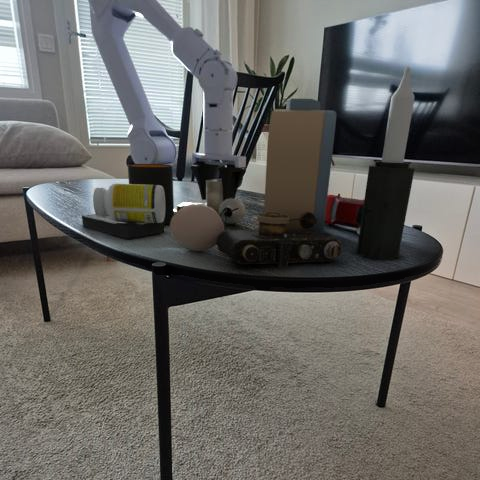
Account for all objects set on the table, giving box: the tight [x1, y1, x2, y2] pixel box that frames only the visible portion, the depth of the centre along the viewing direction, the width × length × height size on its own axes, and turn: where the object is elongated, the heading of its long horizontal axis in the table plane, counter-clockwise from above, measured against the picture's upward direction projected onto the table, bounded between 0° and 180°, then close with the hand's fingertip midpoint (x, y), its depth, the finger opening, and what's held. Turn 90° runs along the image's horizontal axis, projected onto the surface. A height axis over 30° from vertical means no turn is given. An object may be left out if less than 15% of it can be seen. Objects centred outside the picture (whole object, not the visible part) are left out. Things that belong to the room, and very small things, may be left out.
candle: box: [356, 66, 416, 261], centre depth 60 cm, size 5×5×25 cm
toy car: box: [324, 193, 364, 229], centre depth 81 cm, size 6×14×5 cm
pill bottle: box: [92, 183, 165, 223], centre depth 70 cm, size 6×6×11 cm
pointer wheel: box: [205, 178, 224, 207], centre depth 87 cm, size 5×5×5 cm
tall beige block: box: [263, 98, 337, 234], centre depth 72 cm, size 21×10×22 cm, turn 168°
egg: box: [169, 204, 225, 252], centre depth 63 cm, size 7×7×10 cm
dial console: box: [176, 201, 224, 222], centre depth 89 cm, size 12×9×3 cm
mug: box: [127, 163, 175, 225], centre depth 83 cm, size 8×12×10 cm
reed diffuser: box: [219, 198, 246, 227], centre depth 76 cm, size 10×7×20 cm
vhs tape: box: [81, 213, 166, 240], centre depth 75 cm, size 14×8×2 cm, turn 48°
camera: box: [216, 212, 343, 269], centre depth 59 cm, size 16×7×8 cm
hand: (217, 201), depth 88 cm, fingers open, 7 cm apart
